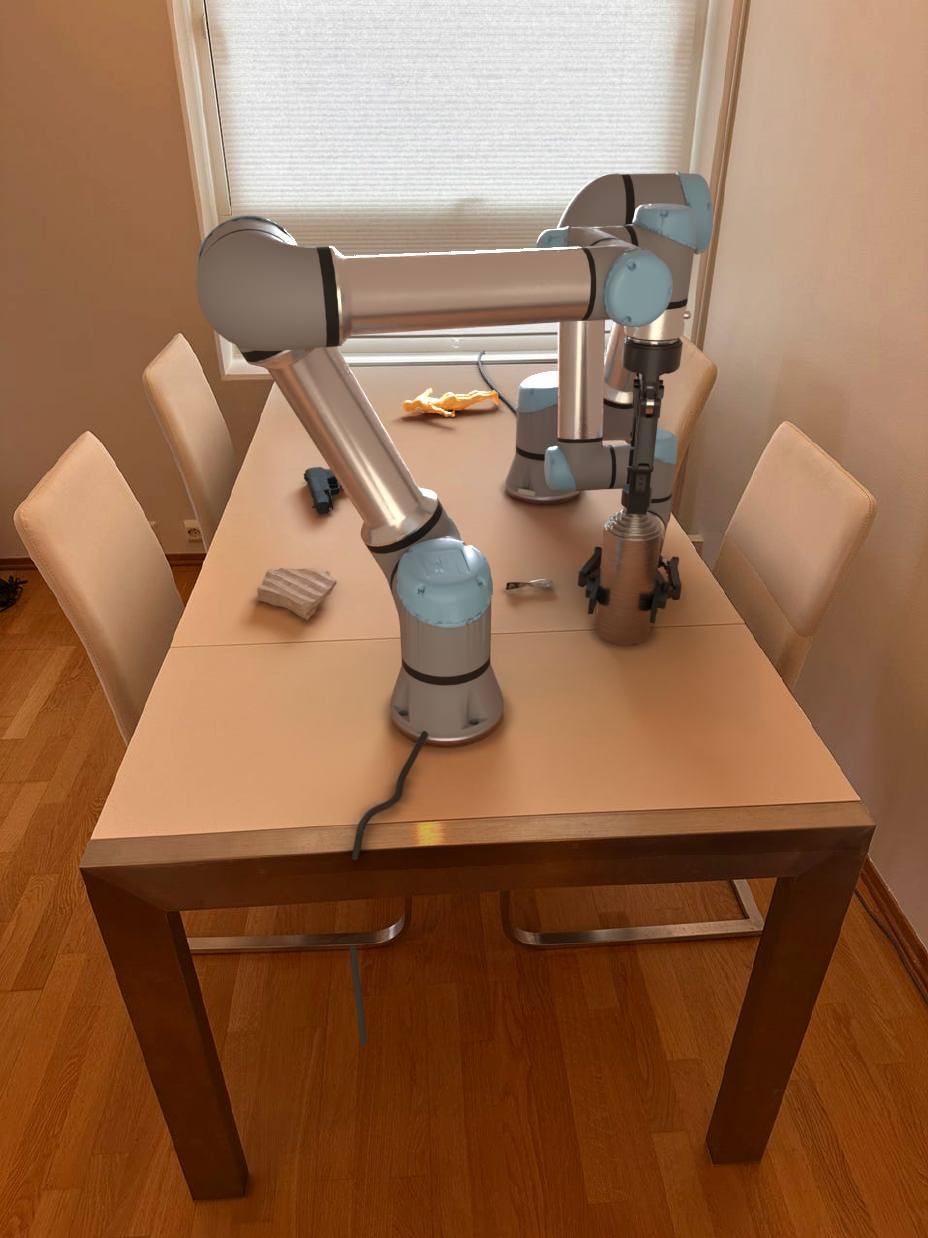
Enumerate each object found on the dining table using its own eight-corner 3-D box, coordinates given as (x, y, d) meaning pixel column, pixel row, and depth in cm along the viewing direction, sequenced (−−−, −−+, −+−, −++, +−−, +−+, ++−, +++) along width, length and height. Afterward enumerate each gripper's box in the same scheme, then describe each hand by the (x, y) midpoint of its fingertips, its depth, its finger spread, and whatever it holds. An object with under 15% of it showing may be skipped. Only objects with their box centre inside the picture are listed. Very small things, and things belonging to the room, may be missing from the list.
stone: (346, 586, 150) (345, 572, 148) (309, 621, 140) (307, 607, 139) (280, 572, 154) (279, 559, 153) (240, 606, 145) (238, 592, 143)
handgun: (374, 509, 176) (313, 517, 173) (359, 474, 190) (302, 481, 188) (373, 494, 174) (311, 502, 172) (358, 460, 188) (301, 466, 186)
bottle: (592, 642, 135) (604, 502, 123) (598, 614, 142) (610, 479, 130) (647, 649, 134) (665, 508, 121) (651, 620, 141) (668, 484, 128)
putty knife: (553, 587, 149) (553, 578, 148) (506, 592, 148) (507, 584, 147) (551, 584, 150) (551, 575, 149) (505, 589, 149) (505, 581, 148)
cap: (642, 496, 129) (643, 481, 128) (655, 507, 125) (657, 492, 124) (616, 499, 128) (617, 485, 127) (629, 511, 124) (630, 496, 123)
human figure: (395, 413, 223) (394, 398, 221) (438, 390, 237) (438, 375, 235) (462, 429, 215) (462, 413, 213) (502, 404, 229) (503, 388, 227)
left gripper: (689, 359, 106) (666, 534, 118) (678, 319, 122) (659, 477, 134) (625, 357, 107) (609, 531, 119) (622, 318, 123) (609, 474, 135)
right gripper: (702, 570, 149) (692, 642, 130) (576, 554, 154) (549, 621, 135) (708, 530, 145) (699, 598, 126) (579, 514, 150) (552, 578, 131)
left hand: (635, 502), depth 126 cm, fingers open, 6 cm apart
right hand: (621, 610), depth 131 cm, fingers closed on bottle, 8 cm apart
